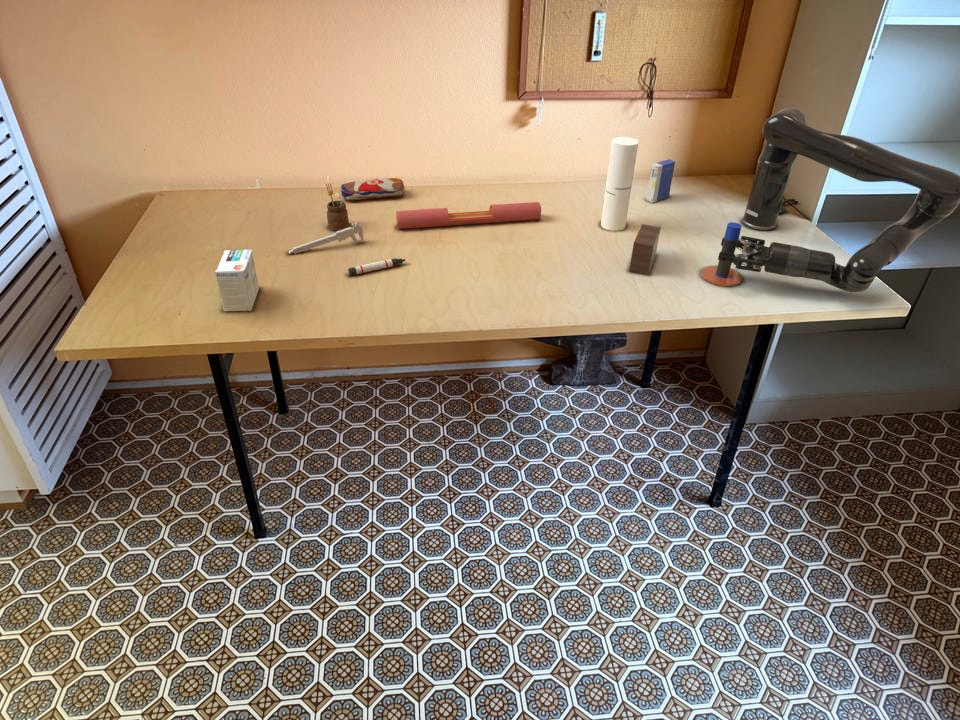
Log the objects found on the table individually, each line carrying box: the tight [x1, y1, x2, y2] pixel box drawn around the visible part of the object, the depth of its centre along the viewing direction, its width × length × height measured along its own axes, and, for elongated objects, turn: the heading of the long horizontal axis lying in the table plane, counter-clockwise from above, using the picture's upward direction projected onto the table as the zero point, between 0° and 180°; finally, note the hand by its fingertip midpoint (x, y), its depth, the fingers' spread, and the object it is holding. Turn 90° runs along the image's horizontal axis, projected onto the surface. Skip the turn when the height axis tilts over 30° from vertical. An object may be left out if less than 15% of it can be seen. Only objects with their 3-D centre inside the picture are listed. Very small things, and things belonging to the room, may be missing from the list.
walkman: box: [645, 158, 676, 204], centre depth 219 cm, size 8×3×12 cm, turn 127°
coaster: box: [701, 265, 743, 287], centre depth 182 cm, size 10×10×1 cm
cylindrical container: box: [600, 136, 639, 232], centre depth 199 cm, size 7×7×25 cm
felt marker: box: [716, 221, 743, 278], centre depth 178 cm, size 3×12×12 cm
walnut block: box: [628, 223, 662, 276], centre depth 185 cm, size 12×5×8 cm, turn 159°
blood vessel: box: [395, 201, 542, 230], centre depth 204 cm, size 42×5×5 cm, turn 101°
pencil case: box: [339, 177, 406, 201], centre depth 218 cm, size 11×20×5 cm, turn 89°
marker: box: [347, 257, 406, 276], centre depth 181 cm, size 15×2×2 cm, turn 117°
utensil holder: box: [325, 182, 350, 232], centre depth 198 cm, size 6×6×12 cm
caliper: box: [287, 221, 364, 255], centre depth 189 cm, size 20×1×6 cm, turn 113°
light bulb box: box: [214, 249, 260, 312], centre depth 165 cm, size 11×7×11 cm, turn 5°
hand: (720, 248), depth 178 cm, fingers open, 8 cm apart
